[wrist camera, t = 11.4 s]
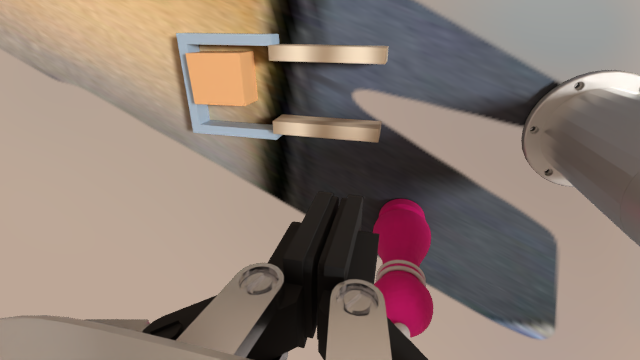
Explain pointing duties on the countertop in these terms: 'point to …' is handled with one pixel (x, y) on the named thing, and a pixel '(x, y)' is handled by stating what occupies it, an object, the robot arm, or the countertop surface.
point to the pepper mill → (404, 265)
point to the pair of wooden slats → (323, 125)
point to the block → (222, 77)
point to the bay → (200, 111)
